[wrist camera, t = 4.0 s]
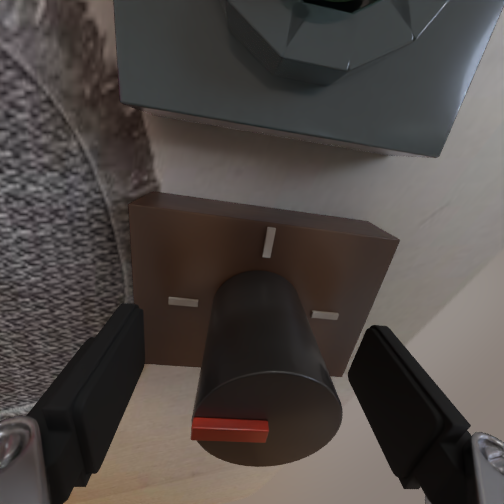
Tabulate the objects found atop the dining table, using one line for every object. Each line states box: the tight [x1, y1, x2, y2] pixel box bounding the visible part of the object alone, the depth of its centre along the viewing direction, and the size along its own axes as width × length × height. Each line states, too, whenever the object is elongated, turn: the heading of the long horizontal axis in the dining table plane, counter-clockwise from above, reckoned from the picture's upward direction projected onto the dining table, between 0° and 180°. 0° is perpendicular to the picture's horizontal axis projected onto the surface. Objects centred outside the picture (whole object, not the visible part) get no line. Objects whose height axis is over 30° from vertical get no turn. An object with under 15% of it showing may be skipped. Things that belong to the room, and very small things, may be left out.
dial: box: [191, 270, 342, 467], centre depth 9 cm, size 4×4×6 cm
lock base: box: [128, 192, 400, 377], centre depth 13 cm, size 12×9×3 cm
